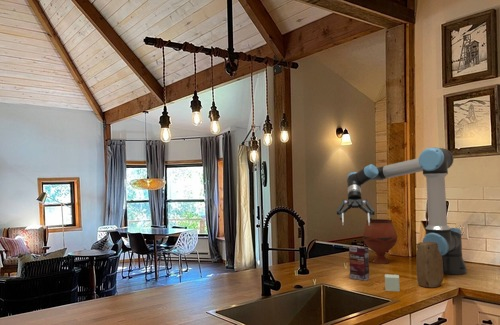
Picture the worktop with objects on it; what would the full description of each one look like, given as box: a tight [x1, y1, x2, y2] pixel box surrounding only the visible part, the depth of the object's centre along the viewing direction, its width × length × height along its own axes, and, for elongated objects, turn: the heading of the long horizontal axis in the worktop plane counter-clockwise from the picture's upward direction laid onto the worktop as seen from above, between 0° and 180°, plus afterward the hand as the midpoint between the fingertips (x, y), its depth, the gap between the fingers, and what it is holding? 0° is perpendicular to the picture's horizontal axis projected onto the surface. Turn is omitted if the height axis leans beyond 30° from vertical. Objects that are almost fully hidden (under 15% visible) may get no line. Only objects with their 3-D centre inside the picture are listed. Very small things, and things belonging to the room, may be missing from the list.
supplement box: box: [348, 245, 370, 281], centre depth 207 cm, size 9×5×16 cm, turn 47°
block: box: [415, 241, 444, 289], centre depth 191 cm, size 11×8×20 cm
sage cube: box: [384, 273, 401, 292], centre depth 186 cm, size 6×6×6 cm
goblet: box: [362, 218, 398, 265], centre depth 245 cm, size 19×19×25 cm
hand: (355, 223), depth 222 cm, fingers open, 13 cm apart
